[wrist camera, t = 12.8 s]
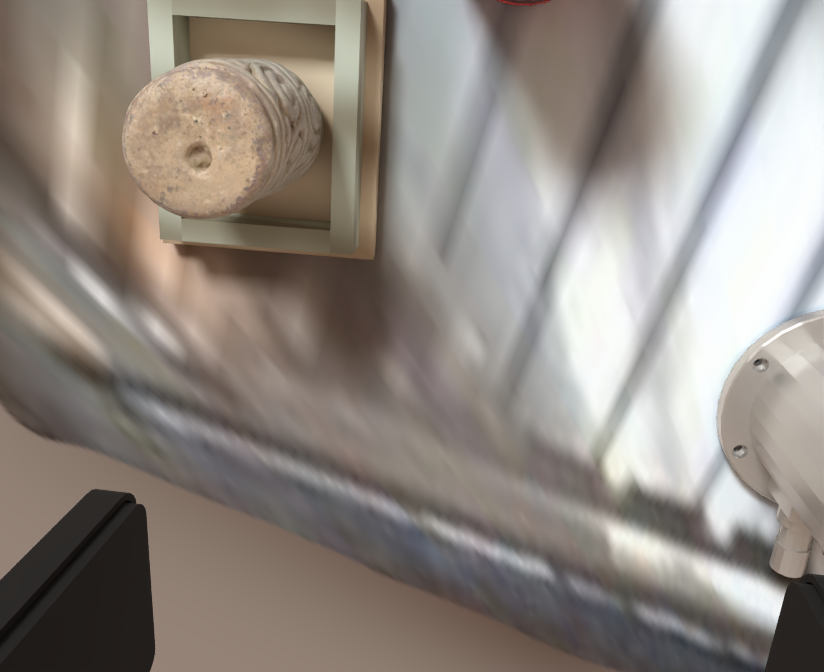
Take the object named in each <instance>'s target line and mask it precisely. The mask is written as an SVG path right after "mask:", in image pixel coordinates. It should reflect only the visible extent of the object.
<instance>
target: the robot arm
mask: <svg viewBox="0 0 824 672" xmlns="http://www.w3.org/2000/svg"><path fill="white" fill-rule="evenodd" d="M757 359H760V360H759V362H757V363H754V362H755V361H756V360H757ZM717 428H718V437H719V440H720V443H721V446H722V449H723V451H724V454H725V455H726V457H727V459H728V461H729V462H730V464H731V466H732V468H733V469H734V470H735V471H736V473H737V474H738V475H739V477H740V478H741V479H742V480H743V482H745V483H746V484H747V485H748V486H749V487H751V488H752V489H753V490H754V491H755V492H757V493H758V494H760V495H762V496H764V497H766V498H767V499H769V500H771V501H773V502H775V503H778V505H779V507H778V510H777V514H776V517H777V520H778V521H779V522H780V523H781V527H780V531H779V534H778V535H777V537H776V540H775V544H774V548H773V552H772V555H771V559H770V563H769V564H770V566H771V568H772V569H773V570H775V571H776V572H777V573H779V574H781V575H784V576H786V577H791V578H799V577H802V576H803V575H804V573H805V570H806V566H807V563H808V559H809V556H810V552H811V543H812V539H813V537H814V539H815V540H816V542H817V543H818V544H819V546H820V547H821V549H822V552H823V555H824V310H820V311H816V312H811V313H807V314H804V315H802V316H799V317H796V318H794V319H791V320H789V321H786V322H784V323H783V324H781V325H779V326H778V327H776V328H774V329H772V330H771V331H769V332H767V333H766V334H764V335H763V336H762V337H761V338H760V339H759V340H757V341H756V342H755V343H754V344H753V345H751V346H750V347H749V348H748V349H747V350H746V352H745V353H744V354H743V355H742V356H741V358H740V359H739V360H738V361H737V362H736V364H735V365H734V367H733V368H732V370H731V372H730V374H729V375H728V377H727V379H726V381H725V383H724V386H723V389H722V392H721V395H720V398H719V402H718V410H717ZM738 445H739V446H738ZM736 446H738V447H736ZM148 548H149V547H148V533H147V517H146V510H145V507H144V506H143V505H142V504H136V499H135V497H134V495H132V494H131V493H124V492H116V491H108V490H99V489H94V490H91V491H90V492H89V493H87V494H86V495H85V496H84V497H83V498H82V499H81V500H80V501H79V502H78V503H77V504H76V505H75V506H74V507H73V508H72V509H71V510H70V511H69V512H68V513H67V514H66V515H65V516H64V517H63V518H62V519H61V520H60V521H59V522H58V523H57V524H56V525H55V526H54V527H53V528H52V529H51V530H50V531H49V532H48V533H47V534H46V535H45V536H44V537H43V538H42V539H41V540H40V542H38V543H37V544H36V545H35V546H34V547H33V548H32V549H31V550H30V551H29V552H28V553H27V554H26V555H25V556H24V557H23V558H22V559H21V560H20V561H19V562H18V563H17V564H16V565H15V566H14V567H13V568H12V569H11V570H10V571H9V572H8V573H7V574H6V575H5V576H4V577H3V578H2V579H1V580H0V672H150V669H151V667H152V664H153V660H154V655H155V639H154V622H153V607H152V594H151V577H150V562H149V549H148ZM765 672H824V575H816V574H806V575H804V576H803V578H802V579H801V581H800V583H790V584H789V586H788V587H787V590H786V593H785V597H784V600H783V604H782V608H781V612H780V615H779V619H778V623H777V627H776V630H775V634H774V638H773V642H772V646H771V649H770V653H769V657H768V661H767V664H766V668H765Z"/></svg>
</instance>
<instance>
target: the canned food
mask: <svg viewBox="0 0 824 672" xmlns="http://www.w3.org/2000/svg"><path fill="white" fill-rule="evenodd" d="M497 1H500V2H503V3H508V4H512V5H529V6H531V5H536V4H541V3H546V2H548V1H550V0H497Z"/></svg>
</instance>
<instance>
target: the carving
mask: <svg viewBox="0 0 824 672" xmlns="http://www.w3.org/2000/svg"><path fill="white" fill-rule="evenodd" d="M323 134H324V128H323V119H322V113H321V110H320V107H319V105H318V103H317V101H316V100H315V98H314V97H313V95H312V94H311V93H310V91H309V89H308V88H307V87H306V86H305V84H304V83H303V81H302V80H301V79H300V78H299V77H298V76H297V75H296V74H295V73H293V72H292V71H290V70H288V69H287V68H286V67H284V66H283V65H281V64H279V63H276V62H272V61H269V60H264V59H255V58H246V59H235V58H209V59H199V60H194V61H190V62H187V63H184V64H181V65H179V66H177V67H175V68H174V69H172V70H170V71H168V72H166V73H164V74H162V75H160V76H158V77H157V78H156V79H154V80H153V81H152V82H150V83H149V84H148V85H147V86H145V87H144V88H143V89H142V90H141V91H140V92H139V93H138V94H137V95H136V97H135V98H134V99H133V101H132V102H131V104H130V106H129V108H128V110H127V113H126V117H125V121H124V127H123V135H122V149H123V155H124V159H125V163H126V166H127V168H128V171H129V173H130V175H131V177H132V179H133V180H134V182H135V183H136V184H137V186H138V187H139V188H140V190H141V191H142V192H143V193H144V194H146V195H147V196H148V197H149V198H150V199H151V200H152V201H153V202H154V203H156V204H157V205H159V206H160V207H162V208H163V209H165V210H167V211H168V212H171V213H173V214H175V215H178V216H181V217H185V218H190V219H212V218H220V217H224V216H228V215H231V214H233V213H235V212H238V211H240V210H242V209H243V208H245V207H247V206H248V205H250V204H251V203H252V202H254V201H255V200H258V199H261V198H264V197H266V196H268V195H270V194H272V193H275V192H278V191H280V190H281V189H283V188H285V187H287V186H288V185H290V184H291V183H293V182H294V181H296V180H297V179H299V178H300V177H301V176H302V175H303V174H304V173H305V172H306V171H307V170H308V169H309V168H310V166H311V165H312V164H313V162H314V160H315V159H316V157H317V155H318V153H319V150H320V147H321V143H322V139H323Z"/></svg>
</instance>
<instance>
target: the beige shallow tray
mask: <svg viewBox="0 0 824 672" xmlns="http://www.w3.org/2000/svg"><path fill="white" fill-rule="evenodd" d="M147 4H148V23H149V41H150V59H151V78H152V81H153V80H154V79H156V78H157V77H158V76H160V75H162V74H164V73H166V72H168V71H170V70H172V69H174V68H175V67H177V66H179V65H181V64H184V63H187V62H190V61H194V60H199V59H209V58H235V59H246V58H255V59H264V60H269V61H272V62H276V63H279V64H281V65H283V66H284V67H286V68H287V69H288V70H290V71H292V72H293V73H295V74H296V75H297V76H298V77H299V78H300V79H301V80H302V81H303V83H304V84H305V86H306V87H307V88H308V89H309V91H310V93H311V94H312V95H313V97H314V98H315V100H316V101H317V103H318V105H319V107H320V110H321V113H322V119H323V128H324V134H323V139H322V143H321V147H320V150H319V153H318V155H317V157H316V159H315V160H314V162H313V164H312V165H311V166H310V168H309V169H308V170H307V171H306V172H305V173H304V174H303V175H302V176H301V177H300V178H299V179H297V180H296V181H294V182H293V183H291V184H290V185H288V186H287V187H285V188H283V189H281V190H280V191H278V192H275V193H272V194H270V195H268V196H266V197H264V198H261V199H258V200H255V201H254V202H252V203H251V204H250V205H248V206H247V207H245V208H243V209H242V210H240V211H238V212H235V213H233V214H231V215H228V216H224V217H220V218H212V219H190V218H185V217H181V216H178V215H175V214H173V213H171V212H168V211H167V210H165V209H163V208H162V207H160V206H159V205H158V207H159V225H160V239H163V243H172V244H184V245H196V246H208V247H221V248H233V249H245V250H257V251H269V252H281V253H294V254H306V255H318V256H330V257H342V258H354V259H367V260H373V258H374V256H375V246H376V225H377V203H378V181H379V160H380V138H381V117H382V95H383V73H384V52H385V30H386V9H387V0H147Z"/></svg>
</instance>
